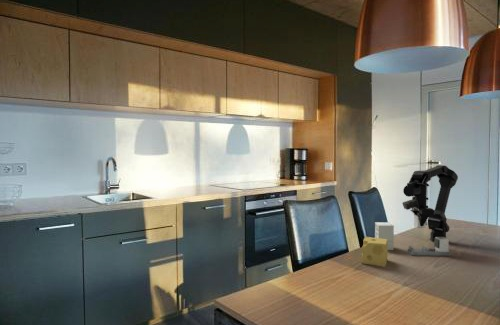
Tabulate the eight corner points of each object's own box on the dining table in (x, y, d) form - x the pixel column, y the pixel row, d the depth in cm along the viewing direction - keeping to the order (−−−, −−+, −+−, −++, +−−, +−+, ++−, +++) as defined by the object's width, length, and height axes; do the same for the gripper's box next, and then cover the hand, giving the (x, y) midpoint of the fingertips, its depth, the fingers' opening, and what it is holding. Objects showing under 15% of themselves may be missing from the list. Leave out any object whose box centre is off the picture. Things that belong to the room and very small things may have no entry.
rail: (445, 253, 159) (446, 236, 159) (450, 255, 155) (450, 239, 155) (407, 252, 160) (407, 236, 160) (411, 255, 156) (411, 238, 156)
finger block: (423, 226, 173) (423, 214, 172) (426, 228, 169) (427, 216, 168) (414, 226, 173) (414, 214, 173) (417, 227, 169) (417, 216, 169)
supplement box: (389, 246, 171) (389, 222, 171) (393, 250, 164) (394, 225, 163) (374, 245, 172) (374, 221, 171) (378, 250, 165) (378, 225, 164)
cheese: (360, 263, 145) (361, 241, 145) (364, 256, 155) (365, 235, 154) (386, 267, 140) (386, 244, 140) (388, 260, 150) (388, 238, 150)
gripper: (397, 192, 180) (397, 221, 181) (412, 197, 161) (411, 229, 162) (418, 192, 179) (418, 221, 180) (435, 197, 161) (435, 229, 161)
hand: (419, 225), depth 171 cm, fingers closed on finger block, 4 cm apart
